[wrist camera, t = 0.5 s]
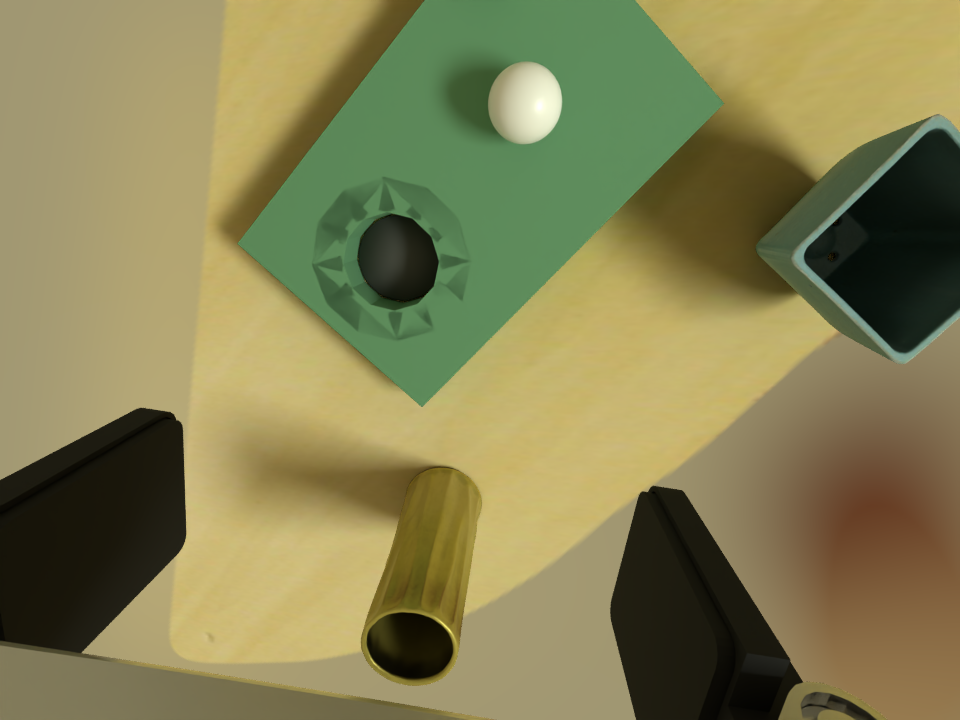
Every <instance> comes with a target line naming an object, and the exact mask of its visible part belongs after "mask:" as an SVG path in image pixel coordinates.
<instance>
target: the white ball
mask: <svg viewBox="0 0 960 720" xmlns="http://www.w3.org/2000/svg"><path fill="white" fill-rule="evenodd" d="M561 109H562V94H561V89H560V86H559V84H558V81H557V80H556V78H555V76H554V75H553V74H552V73H551V72H550V71H549V70H548V69H547V68H546V67H544V66H542V65H540V64H538V63H535V62H528V61H524V62H518V63H515V64H513V65H511V66H509V67H507V68H506V69H505V70H503V71H502V72H501V73H500V74H499V75H498V77H497V78H496V79H495V81H494V83H493V85H492V87H491V90H490V93H489V99H488V111H489V116H490V119H491V122H492V124H493V126H494V127H495V129H496V130H497V132H498V133H499V134H500V135H501V136H502V137H503V138H505V139H506V140H508V141H510V142H513V143H516V144H531V143H535V142H537V141H539V140H541V139H543V138H544V137H545V136H547V135H548V134H549V133H550V132H551V131H552V129H553V128H554V127H555V125H556V124H557V121H558V119H559V117H560V114H561Z"/></svg>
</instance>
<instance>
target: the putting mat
mask: <svg viewBox="0 0 960 720" xmlns="http://www.w3.org/2000/svg"><path fill="white" fill-rule="evenodd" d="M524 61H528V62H535V63H538V64H540V65H542V66H544V67H546V68H547V69H548V70H549V71H550V72H551V73H552V74H553V75H554V76H555V78H556V80H557V81H558V84H559V86H560V89H561V94H562V109H561V114H560V117H559V119H558V121H557V124H556V125H555V127H554V128H553V129H552V131H551V132H550V133H549V134H548V135H547V136H545V137H544V138H543V139H541V140H539V141H537V142H535V143H531V144H516V143H513V142H510V141H508V140H506V139H505V138H503V137H502V136H501V135H500V134H499V133H498V132H497V130H496V129H495V127H494V126H493V124H492V122H491V119H490V116H489V111H488V99H489V93H490V90H491V87H492V85H493V83H494V81H495V79H496V78H497V77H498V75H499V74H500V73H501V72H502V71H503V70H505V69H506V68H507V67H509V66H511V65H513V64H515V63H518V62H524ZM723 104H724V103H723V102H722V100H721V99H720V98H719V97H718V96H717V95H716V93H715V92H714V91H713V90H712V89H711V88H710V87H709V85H708V84H707V83H706V82H705V81H704V80H703V78H702V77H701V76H700V75H699V74H698V73H697V72H696V70H695V69H694V68H693V67H692V66H691V65H690V63H689V62H688V61H687V60H686V59H685V58H684V56H683V55H682V54H681V53H680V52H679V51H678V50H677V48H676V47H675V46H674V45H673V44H672V43H671V41H670V40H669V39H668V38H667V37H666V36H665V35H664V33H663V32H662V31H661V30H660V29H659V28H658V26H657V25H656V24H655V23H654V22H653V21H652V20H651V18H650V17H649V16H648V15H647V14H646V13H645V11H644V10H643V9H642V8H641V7H640V6H639V5H638V3H637V2H636V1H635V0H424V2H423V3H422V4H421V6H420V7H419V8H418V9H417V11H416V12H415V13H414V15H413V16H412V17H411V19H410V20H409V21H408V22H407V24H406V25H405V26H404V28H403V29H402V30H401V32H400V33H399V34H398V36H397V37H396V38H395V39H394V41H393V42H392V43H391V45H390V46H389V47H388V49H387V50H386V51H385V52H384V54H383V55H382V56H381V58H380V59H379V60H378V62H377V63H376V64H375V65H374V67H373V68H372V69H371V71H370V72H369V73H368V75H367V76H366V77H365V78H364V80H363V81H362V82H361V84H360V85H359V86H358V88H357V89H356V90H355V91H354V93H353V94H352V95H351V97H350V98H349V99H348V101H347V102H346V103H345V104H344V106H343V107H342V108H341V110H340V111H339V112H338V114H337V115H336V116H335V117H334V119H333V120H332V121H331V123H330V124H329V125H328V127H327V128H326V129H325V131H324V132H323V133H322V134H321V136H320V137H319V138H318V140H317V141H316V142H315V144H314V145H313V146H312V147H311V149H310V150H309V151H308V153H307V154H306V155H305V157H304V158H303V159H302V160H301V162H300V163H299V164H298V166H297V167H296V168H295V170H294V171H293V172H292V173H291V175H290V176H289V177H288V179H287V180H286V181H285V183H284V184H283V185H282V186H281V188H280V189H279V190H278V192H277V193H276V194H275V196H274V197H273V198H272V199H271V201H270V202H269V203H268V205H267V206H266V207H265V209H264V210H263V211H262V212H261V214H260V215H259V216H258V218H257V219H256V220H255V222H254V223H253V224H252V226H251V227H250V228H249V229H248V231H247V232H246V233H245V235H244V236H243V237H242V239H241V240H240V241H239V242H238V245H239V246H241V247H242V248H243V249H244V250H245V251H246V252H247V253H249V254H250V255H251V256H252V257H253V258H254V259H255V260H256V261H258V262H259V263H260V264H261V265H262V266H263V267H264V268H265V269H267V270H268V271H269V272H270V273H271V274H272V275H273V276H274V277H276V278H277V279H278V280H279V281H280V282H281V283H282V284H283V285H285V286H286V287H287V288H288V289H289V290H290V291H291V292H293V293H294V294H295V295H296V296H297V297H298V298H299V299H300V300H302V301H303V302H304V303H305V304H306V305H307V306H308V307H309V308H311V309H312V310H313V311H314V312H315V313H316V314H317V315H318V316H320V317H321V318H322V319H323V320H324V321H325V322H326V323H327V324H329V325H330V326H331V327H332V328H333V329H334V330H335V331H337V332H338V333H339V334H340V335H341V336H342V337H343V338H344V339H346V340H347V341H348V342H349V343H350V344H351V345H352V346H353V347H355V348H356V349H357V350H358V351H359V352H360V353H361V354H362V355H364V356H365V357H366V358H367V359H368V360H369V361H370V362H371V363H373V364H374V365H375V366H376V367H377V368H378V369H379V370H381V371H382V372H383V373H384V374H385V375H386V376H387V377H388V378H390V379H391V380H392V381H393V382H394V383H395V384H396V385H397V386H399V387H400V388H401V389H402V390H403V391H404V392H405V393H406V394H408V395H409V396H410V397H411V398H412V399H413V400H414V401H415V402H417V403H418V404H419V405H420V406H421V407H423V406H424V405H425V404H426V403H427V402H428V401H429V400H430V399H431V398H432V397H433V396H434V395H435V394H436V393H437V392H438V391H439V390H440V389H441V388H442V387H443V386H444V385H445V384H446V383H447V382H448V381H449V380H450V379H451V378H452V377H453V376H454V375H455V374H456V372H457V371H458V370H459V369H460V368H461V367H462V366H463V365H464V364H465V363H466V362H467V361H468V360H469V359H470V358H471V357H472V356H473V355H474V354H475V353H476V352H477V351H478V350H479V349H480V348H481V347H482V346H483V345H484V344H485V343H486V342H487V341H488V340H489V339H490V338H491V337H492V336H493V335H494V334H495V333H496V332H497V331H498V330H499V329H500V328H501V327H502V326H503V325H504V324H505V323H506V322H507V321H508V320H509V319H510V318H511V317H512V316H513V315H514V314H515V313H516V312H517V311H518V310H519V309H520V308H521V307H522V306H523V305H524V304H525V303H526V302H527V301H528V300H529V299H530V298H531V297H532V296H533V295H534V294H535V293H536V292H537V291H538V290H539V289H540V288H541V287H542V286H543V285H544V284H545V283H546V282H547V281H548V280H549V279H550V278H551V277H552V276H553V275H554V274H555V273H556V272H557V271H558V270H559V269H560V268H561V267H562V266H563V265H564V264H565V263H566V262H567V261H568V260H569V259H570V258H571V257H572V256H573V255H574V254H575V253H576V252H577V251H578V250H579V249H580V248H581V247H582V246H583V245H584V244H585V243H586V242H587V241H588V240H589V239H590V238H591V237H592V236H593V235H594V234H595V233H596V232H597V231H598V230H599V229H600V228H601V227H602V226H603V225H604V224H605V223H606V222H607V221H608V220H609V219H610V218H611V217H612V216H613V215H614V214H615V213H616V212H617V211H618V210H619V209H620V208H621V207H622V206H623V205H624V204H625V203H626V202H627V201H628V200H629V199H630V198H631V197H632V196H633V195H634V194H635V193H636V192H637V191H638V190H639V189H640V188H641V187H642V186H643V185H644V183H645V182H646V181H647V180H648V179H649V178H650V177H651V176H652V175H653V174H654V173H655V172H656V171H657V170H658V169H659V168H660V167H661V166H662V165H663V164H664V163H665V162H666V161H667V160H668V159H669V158H670V157H671V156H672V155H673V154H674V153H675V152H676V151H677V150H678V149H679V148H680V147H681V146H682V145H683V144H684V143H685V142H686V141H687V140H688V139H689V138H690V137H691V136H692V135H693V134H694V133H695V132H696V131H697V130H698V129H699V128H700V127H701V126H702V125H703V124H704V123H705V122H706V121H707V120H708V119H709V118H710V117H711V116H712V115H713V114H714V113H715V112H716V111H717V110H718V109H719V108H720V107H721V106H722V105H723ZM390 214H397V215H396V216H389V217H385V218H383V219H381V220H379V221H377V222H376V223H374V224H373V225H372V226H371V227H370V228H369V226H370V225H371V224H372V223H373V222H374V220H375V219H378V218H381V217H384V216H387V215H390ZM368 228H369V229H368ZM367 229H368V230H367ZM366 230H367V232H366V233H365V235H364V237H363V239H362V241H361V244H360V238H361V236H362V235H363V233H364V232H365V231H366ZM359 244H360V248H359ZM358 250H359V263H360V267H359V264H358V261H357V256H358ZM360 268H361V270H360ZM361 271H362V272H361ZM362 273H363V275H362ZM363 276H364V277H365V279H366V281H367V282H368V283H369V285H370V286H371V287H372V288H373V289H374V290H375V291H377V292H378V293H379V294H381V295H383V296H385V297H387V298H390V299H394V300H411V299H415V298H417V297H420V296H421V295H423V294H425V293H426V292H427V291H428V290H430V289H431V288H432V286H433V285H434V287H433V288H432V289H431V290H430V291H429V292H428V293H427V294H426V295H425V297H422V298H419V299H415V300H412V301H409V302H405V303H402V302H398V301H394V300H390V299H386V298H382V297H381V296H380V295H379V294H378V293H377V292H375V291H374V290H373V289H372V288H371V287H370V286H369V285H368V284H367V283H366V282H365V281H364V278H363Z"/></svg>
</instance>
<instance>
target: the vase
mask: <svg viewBox="0 0 960 720" xmlns="http://www.w3.org/2000/svg"><path fill="white" fill-rule="evenodd" d="M481 506H482V500H481V495H480V492H479V490H478V488H477V486H476V485H475V484H474V482H473V481H472V480H471V479H470V478H469V477H468V476H466V475H465V474H463V473H461V472H459V471H457V470H454V469H450V468H433V469H429V470H426V471H424V472H422V473H420V474H419V475H417V476H416V477H415V478H414V479H413V480H412V482H411V483H410V485H409V486H408V488H407V492H406V498H405V501H404V504H403V508H402V511H401V515H400V519H399V522H398V526H397V530H396V534H395V537H394V541H393V544H392V548H391V551H390V554H389V557H388V559H387V563H386V566H385V569H384V572H383V575H382V577H381V580H380V583H379V585H378V588H377V591H376V593H375V596H374V599H373V601H372V604H371V607H370V610H369V612H368V615H367V619H366V622H365V626H364V629H363V633H362V637H361V648H362V652H363V654H364V656H365V658H366V661H367V662H368V664H369V665H370V666H371V667H372V668H373V669H374V670H375V671H376V672H378V673H379V674H380V675H382V676H383V677H385V678H386V679H388V680H391V681H393V682H396V683H399V684H404V685H410V686H411V685H412V686H419V685H427V684H431V683H433V682H436V681H438V680H440V679H442V678H443V677H445V676H446V675H447V674H448V673H449V672H450V670H451V669H452V668H453V666H454V665H455V662H456V659H457V655H458V651H459V645H460V636H461V627H462V620H463V613H464V607H465V600H466V594H467V588H468V581H469V575H470V569H471V562H472V555H473V548H474V543H475V537H476V531H477V520H478V518H479V515H480V512H481Z"/></svg>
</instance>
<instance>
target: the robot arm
mask: <svg viewBox="0 0 960 720" xmlns="http://www.w3.org/2000/svg"><path fill="white" fill-rule="evenodd" d="M185 539H186V509H185V479H184V448H183V427H182V424H181V422H179V421H177V420H176V418H175V416H174V414H172V413H171V412H165V411H159V410H153V409H146V408H139V409H136V410H134V411H132V412H130V413H128V414H126V415H124V416H122V417H120V418H119V419H117V420H115V421H113V422H111V423H109V424H107V425H105V426H103V427H101V428H99V429H97V430H95V431H94V432H92V433H90V434H88V435H86V436H84V437H82V438H80V439H78V440H76V441H74V442H73V443H70V444H69V445H67V446H65V447H63V448H61V449H59V450H57V451H55V452H53V453H52V454H49V455H48V456H46V457H44V458H42V459H40V460H38V461H36V462H34V463H32V464H30V465H29V466H26V467H24V468H23V469H21V470H19V471H17V472H15V473H13V474H11V475H9V476H7V477H5V478H3V479H1V480H0V720H495V719H489V718H483V717H477V716H471V715H465V714H459V713H453V712H447V711H441V710H435V709H429V708H423V707H417V706H410V705H405V704H399V703H392V702H387V701H381V700H375V699H369V698H362V697H356V696H350V695H344V694H337V693H331V692H325V691H319V690H313V689H306V688H300V687H294V686H288V685H282V684H275V683H269V682H263V681H256V680H250V679H244V678H237V677H231V676H225V675H218V674H212V673H205V672H200V671H193V670H187V669H181V668H174V667H168V666H161V665H155V664H148V663H141V662H135V661H128V660H122V659H116V658H109V657H102V656H96V655H89V654H83V653H82V651H83V650H84V649H85V648H86V647H87V646H88V645H89V644H90V643H91V642H92V641H93V640H94V639H95V638H96V637H97V636H98V635H99V634H100V633H101V632H102V631H103V630H104V629H105V628H106V627H107V626H108V625H109V624H110V623H111V622H112V621H113V620H114V619H115V618H116V617H117V616H118V615H119V614H120V613H121V611H122V610H123V609H124V608H125V607H126V606H127V605H128V604H129V603H130V602H131V601H132V600H133V599H134V598H135V597H136V596H137V595H138V594H139V593H140V592H141V591H142V590H143V589H144V588H145V587H146V586H147V585H148V584H149V583H150V582H151V581H152V580H153V579H154V578H155V577H156V576H157V575H158V574H159V573H160V572H161V571H162V570H163V568H165V566H166V565H167V564H168V563H169V562H170V561H171V560H172V559H173V558H174V557H175V556H176V555H177V554H178V553H179V552H180V550H181V549H182V547H183V545H184V542H185ZM610 614H611V622H612V626H613V630H614V633H615V638H616V641H617V646H618V650H619V654H620V657H621V661H622V665H623V669H624V673H625V677H626V681H627V685H628V689H629V693H630V697H631V701H632V705H633V709H634V713H635V717H636V720H887V719H886V718H885V717H884V716H883V715H881V713H879V712H878V711H876V710H875V709H874V708H872V707H871V706H869V705H868V704H866V703H865V702H864V701H862V700H861V699H859V698H857V697H855V696H853V695H851V694H849V693H847V692H845V691H843V690H841V689H839V688H836V687H833V686H830V685H827V684H824V683H817V682H804V683H803V681H802V680H801V678H800V676H799V675H798V673H797V672H796V670H795V669H794V667H793V665H792V664H791V662H790V658H789V657H788V655H787V654H786V652H785V651H784V649H783V647H782V646H781V644H780V643H779V641H778V640H777V638H776V636H775V635H774V633H773V632H772V630H771V628H770V627H769V625H768V624H767V622H766V621H765V619H764V618H763V616H762V614H761V613H760V611H759V610H758V608H757V606H756V605H755V603H754V602H753V600H752V599H751V597H750V595H749V594H748V592H747V591H746V589H745V587H744V586H743V584H742V583H741V581H740V580H739V578H738V577H737V575H736V573H735V572H734V570H733V568H732V567H731V565H730V564H729V562H728V561H727V559H726V558H725V556H724V554H723V553H722V551H721V550H720V548H719V546H718V545H717V543H716V542H715V540H714V539H713V537H712V535H711V534H710V532H709V531H708V529H707V527H706V526H705V524H704V523H703V521H702V520H701V518H700V516H699V515H698V513H697V512H696V510H695V509H694V507H693V505H692V504H691V502H690V501H689V499H688V497H687V496H686V495H685V493H684V492H683V491H682V490H677V489H671V488H664V487H657V486H652V487H651V488H650V489H649V491H648V492H643V491H642V492H641V493H640V495H639V497H638V500H637V504H636V508H635V512H634V516H633V520H632V524H631V527H630V531H629V535H628V539H627V543H626V546H625V551H624V554H623V558H622V562H621V566H620V569H619V574H618V577H617V581H616V585H615V589H614V592H613V596H612V600H611V608H610Z"/></svg>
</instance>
